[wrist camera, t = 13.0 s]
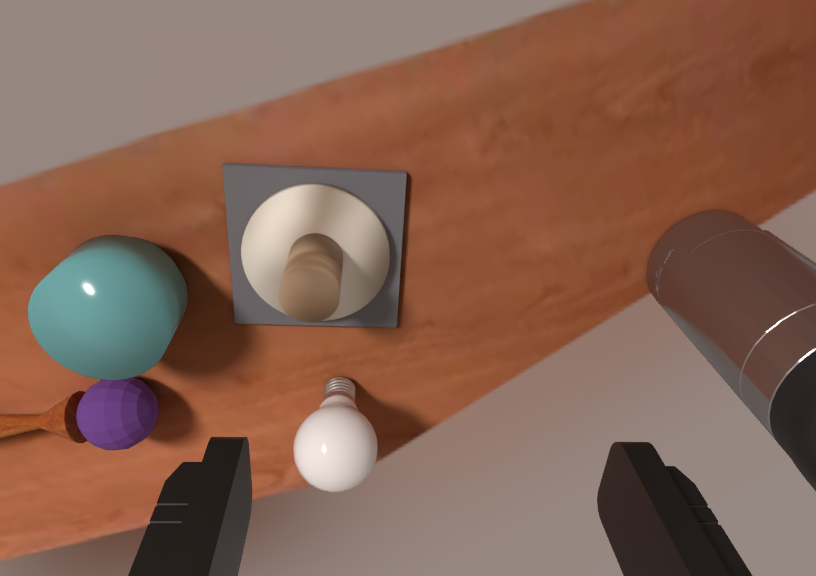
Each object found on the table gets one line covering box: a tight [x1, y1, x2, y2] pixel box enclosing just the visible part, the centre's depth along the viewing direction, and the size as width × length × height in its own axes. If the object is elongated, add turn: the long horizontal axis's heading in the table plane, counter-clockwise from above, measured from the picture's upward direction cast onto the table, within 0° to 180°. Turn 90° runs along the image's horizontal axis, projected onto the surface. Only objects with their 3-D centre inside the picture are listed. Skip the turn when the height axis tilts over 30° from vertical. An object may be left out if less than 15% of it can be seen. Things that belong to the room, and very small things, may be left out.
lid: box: [241, 183, 390, 323], centre depth 43 cm, size 11×11×7 cm
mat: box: [222, 163, 407, 328], centre depth 47 cm, size 13×13×1 cm
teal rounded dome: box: [28, 235, 188, 380], centre depth 44 cm, size 9×9×7 cm
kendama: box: [0, 377, 159, 450], centre depth 50 cm, size 6×6×20 cm
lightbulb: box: [293, 377, 378, 492], centre depth 48 cm, size 6×6×11 cm
